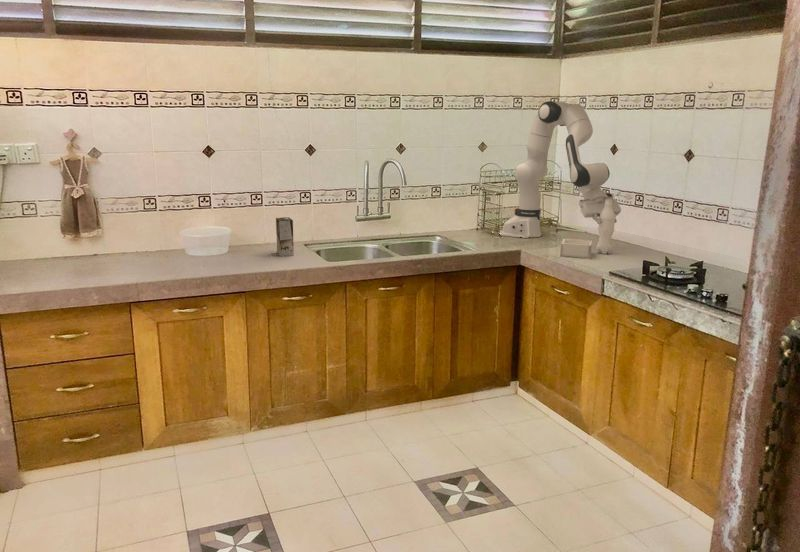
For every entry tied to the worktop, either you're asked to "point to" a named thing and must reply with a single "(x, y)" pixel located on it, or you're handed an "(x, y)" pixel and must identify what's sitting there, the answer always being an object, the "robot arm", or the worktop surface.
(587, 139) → the robot arm
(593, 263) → the worktop surface
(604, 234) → the water bottle
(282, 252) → the coffee box
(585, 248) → the box
